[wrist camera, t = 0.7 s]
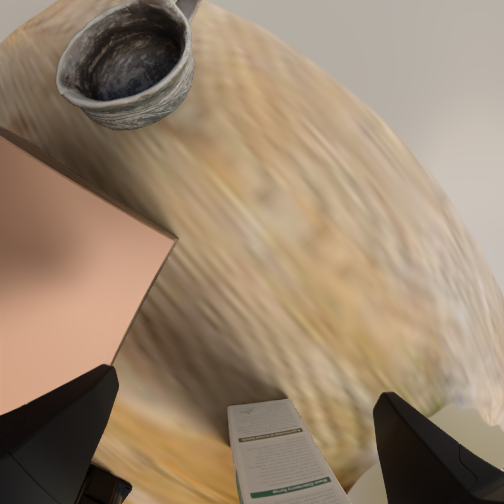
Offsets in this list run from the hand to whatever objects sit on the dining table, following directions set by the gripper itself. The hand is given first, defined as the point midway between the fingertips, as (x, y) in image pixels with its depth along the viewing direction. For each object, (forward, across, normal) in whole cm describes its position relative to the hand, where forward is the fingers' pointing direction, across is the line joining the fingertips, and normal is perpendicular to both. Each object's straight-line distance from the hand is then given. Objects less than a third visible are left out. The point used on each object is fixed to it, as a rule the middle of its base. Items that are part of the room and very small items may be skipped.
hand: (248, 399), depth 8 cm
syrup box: (+10, -2, +15) cm, 18 cm away
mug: (+16, +11, -14) cm, 24 cm away
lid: (0, +16, +1) cm, 16 cm away
